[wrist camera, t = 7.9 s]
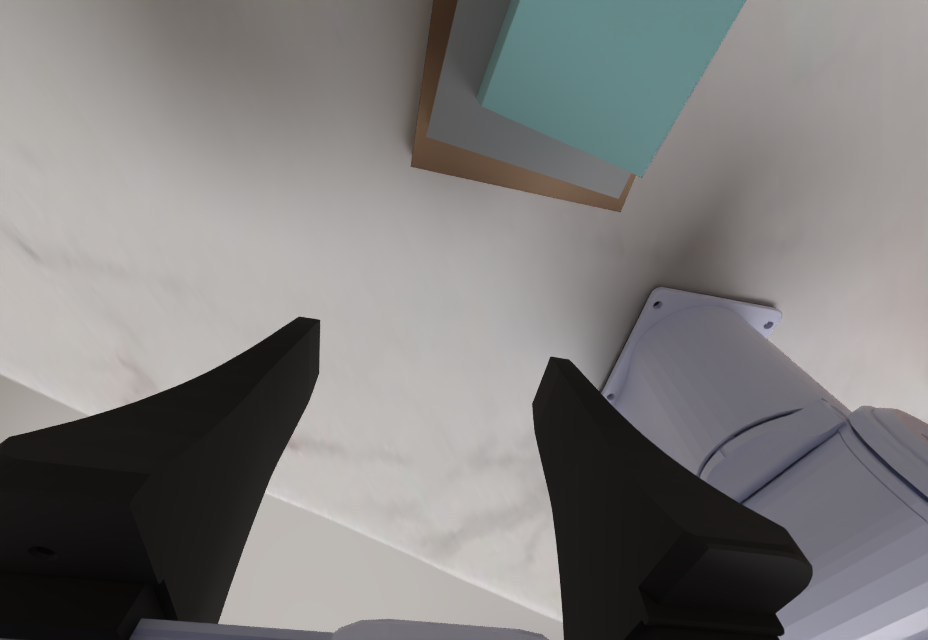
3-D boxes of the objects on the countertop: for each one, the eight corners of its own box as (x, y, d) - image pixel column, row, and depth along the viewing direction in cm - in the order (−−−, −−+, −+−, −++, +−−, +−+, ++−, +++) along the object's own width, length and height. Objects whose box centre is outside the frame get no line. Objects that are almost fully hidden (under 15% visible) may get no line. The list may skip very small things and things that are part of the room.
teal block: (586, 147, 15) (641, 177, 10) (476, 98, 14) (481, 106, 10) (657, 8, 13) (765, -34, 8) (532, -60, 12) (574, -148, 8)
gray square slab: (600, 184, 18) (618, 198, 16) (430, 128, 17) (426, 136, 15) (702, -36, 14) (744, -55, 12) (490, -129, 13) (496, -168, 11)
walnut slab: (604, 197, 21) (620, 212, 19) (416, 156, 20) (410, 166, 18) (700, -49, 16) (736, -67, 14) (455, -124, 15) (454, -156, 13)
